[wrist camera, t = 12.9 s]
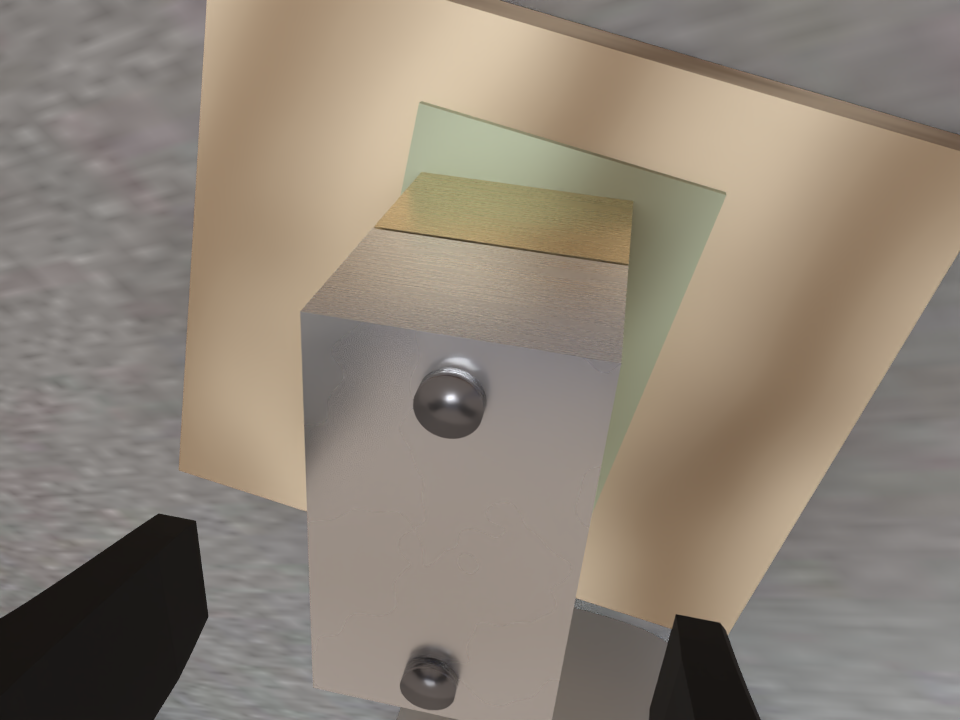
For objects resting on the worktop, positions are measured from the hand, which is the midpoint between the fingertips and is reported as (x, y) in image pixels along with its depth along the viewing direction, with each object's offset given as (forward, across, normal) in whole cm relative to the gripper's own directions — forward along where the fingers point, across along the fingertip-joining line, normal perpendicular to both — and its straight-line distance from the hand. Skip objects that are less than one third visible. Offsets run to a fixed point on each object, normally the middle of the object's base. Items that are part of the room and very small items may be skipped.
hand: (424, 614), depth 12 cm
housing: (+8, 0, 0) cm, 8 cm away
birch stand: (+10, 0, 0) cm, 10 cm away
